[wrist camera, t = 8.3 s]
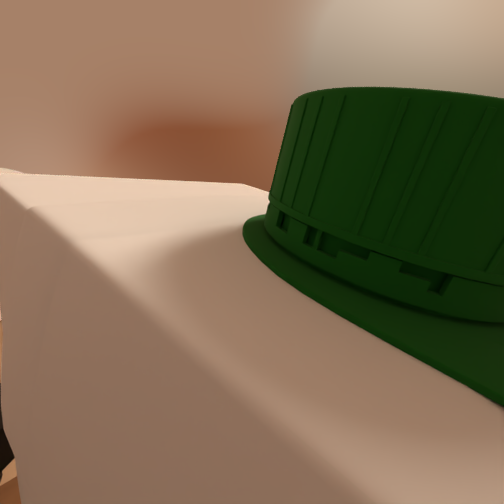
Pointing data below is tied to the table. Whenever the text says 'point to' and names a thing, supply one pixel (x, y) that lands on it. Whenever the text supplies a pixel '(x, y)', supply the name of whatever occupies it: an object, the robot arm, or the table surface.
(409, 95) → the soya milk
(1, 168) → the table surface
